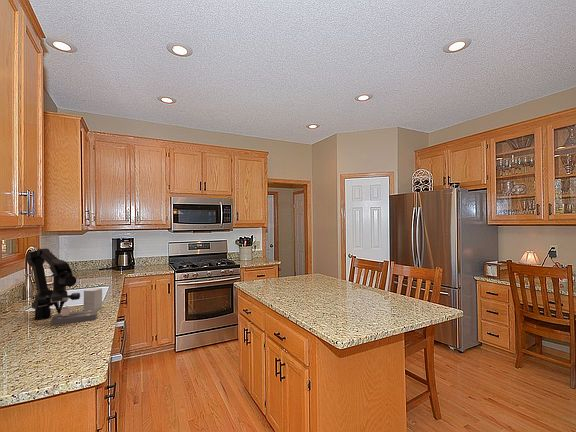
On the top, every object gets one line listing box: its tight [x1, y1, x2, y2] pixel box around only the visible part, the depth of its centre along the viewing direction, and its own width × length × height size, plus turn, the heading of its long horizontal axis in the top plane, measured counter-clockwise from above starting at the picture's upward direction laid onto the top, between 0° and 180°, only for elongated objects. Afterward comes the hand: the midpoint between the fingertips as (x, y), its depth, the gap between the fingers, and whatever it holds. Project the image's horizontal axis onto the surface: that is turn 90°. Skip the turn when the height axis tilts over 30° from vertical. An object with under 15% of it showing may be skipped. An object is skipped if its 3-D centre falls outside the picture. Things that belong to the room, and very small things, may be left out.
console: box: [50, 310, 98, 326], centre depth 173 cm, size 20×12×3 cm, turn 118°
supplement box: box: [83, 287, 103, 311], centre depth 194 cm, size 7×7×13 cm
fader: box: [61, 305, 71, 316], centre depth 171 cm, size 3×5×4 cm, turn 28°
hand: (59, 313), depth 170 cm, fingers closed
